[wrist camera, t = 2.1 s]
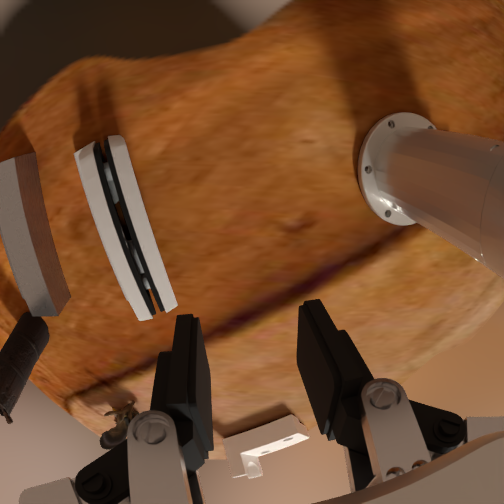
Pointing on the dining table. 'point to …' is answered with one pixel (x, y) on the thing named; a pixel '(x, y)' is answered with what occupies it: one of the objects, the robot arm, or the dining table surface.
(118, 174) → the hinge
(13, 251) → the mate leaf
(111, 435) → the brown animal figurine
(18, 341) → the butter churn
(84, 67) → the dining table surface
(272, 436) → the bracket
